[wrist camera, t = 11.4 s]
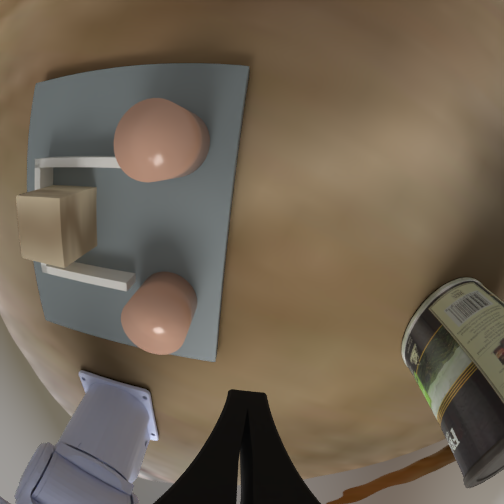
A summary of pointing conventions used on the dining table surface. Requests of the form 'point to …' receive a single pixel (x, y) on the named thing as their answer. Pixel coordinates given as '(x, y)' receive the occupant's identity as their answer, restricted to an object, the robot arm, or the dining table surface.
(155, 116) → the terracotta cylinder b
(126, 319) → the pink rounded cylinder
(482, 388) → the coffee can
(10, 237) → the dining table surface
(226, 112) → the slate board
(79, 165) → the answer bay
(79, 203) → the maple cube
